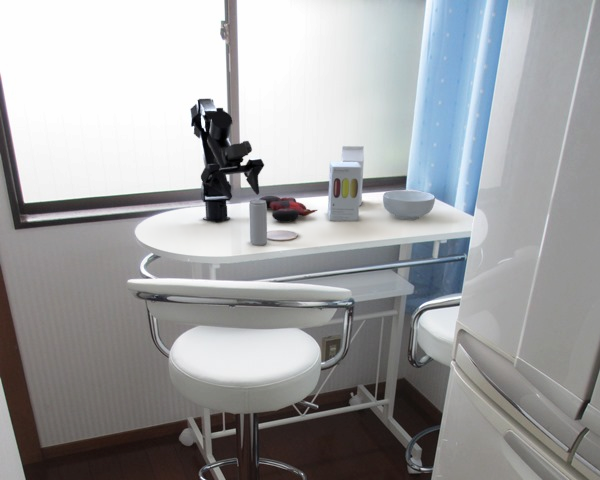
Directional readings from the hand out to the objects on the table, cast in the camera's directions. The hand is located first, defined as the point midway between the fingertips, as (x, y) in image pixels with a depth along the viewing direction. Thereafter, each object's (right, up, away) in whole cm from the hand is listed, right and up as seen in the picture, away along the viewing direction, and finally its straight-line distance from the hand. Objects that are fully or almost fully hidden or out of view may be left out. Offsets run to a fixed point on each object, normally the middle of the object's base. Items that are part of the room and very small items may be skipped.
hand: (244, 195), depth 195 cm
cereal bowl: (+51, +2, +30) cm, 59 cm away
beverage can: (+4, -13, +2) cm, 14 cm away
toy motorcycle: (+12, +4, +33) cm, 35 cm away
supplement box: (+30, +1, +28) cm, 41 cm away
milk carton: (+34, +11, +46) cm, 58 cm away
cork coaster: (+10, -9, +9) cm, 16 cm away
